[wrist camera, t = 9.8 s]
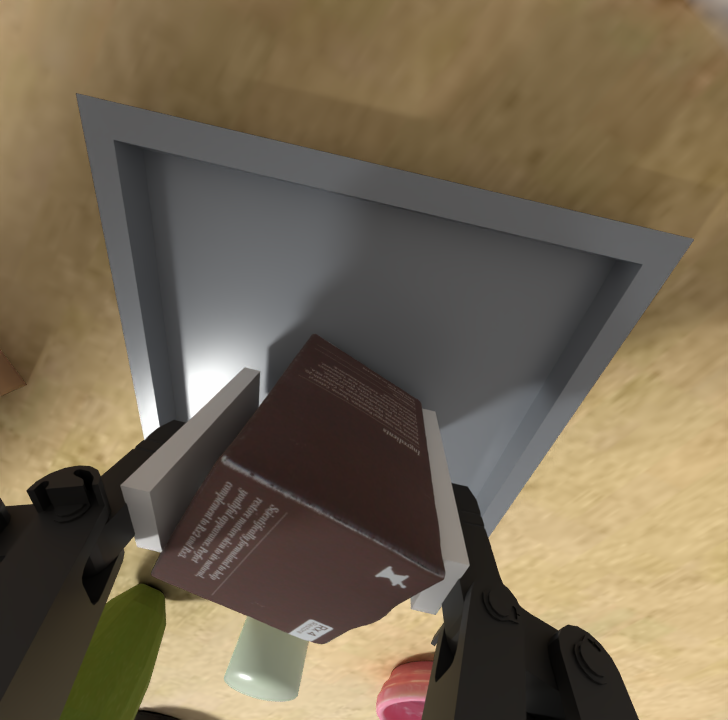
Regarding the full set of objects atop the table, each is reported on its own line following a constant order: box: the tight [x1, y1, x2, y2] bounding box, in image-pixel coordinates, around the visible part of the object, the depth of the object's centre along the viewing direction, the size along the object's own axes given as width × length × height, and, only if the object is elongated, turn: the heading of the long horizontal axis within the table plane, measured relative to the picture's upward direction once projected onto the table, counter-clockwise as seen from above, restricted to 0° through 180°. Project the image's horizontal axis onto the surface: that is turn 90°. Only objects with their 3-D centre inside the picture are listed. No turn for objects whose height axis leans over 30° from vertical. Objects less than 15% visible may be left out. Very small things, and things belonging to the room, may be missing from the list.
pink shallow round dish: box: [376, 661, 433, 720], centre depth 28 cm, size 12×12×3 cm
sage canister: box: [224, 616, 309, 702], centre depth 21 cm, size 5×5×6 cm
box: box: [151, 334, 446, 644], centre depth 10 cm, size 6×6×7 cm
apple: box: [59, 584, 166, 720], centre depth 22 cm, size 9×8×12 cm
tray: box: [76, 93, 694, 538], centre depth 14 cm, size 20×20×2 cm
